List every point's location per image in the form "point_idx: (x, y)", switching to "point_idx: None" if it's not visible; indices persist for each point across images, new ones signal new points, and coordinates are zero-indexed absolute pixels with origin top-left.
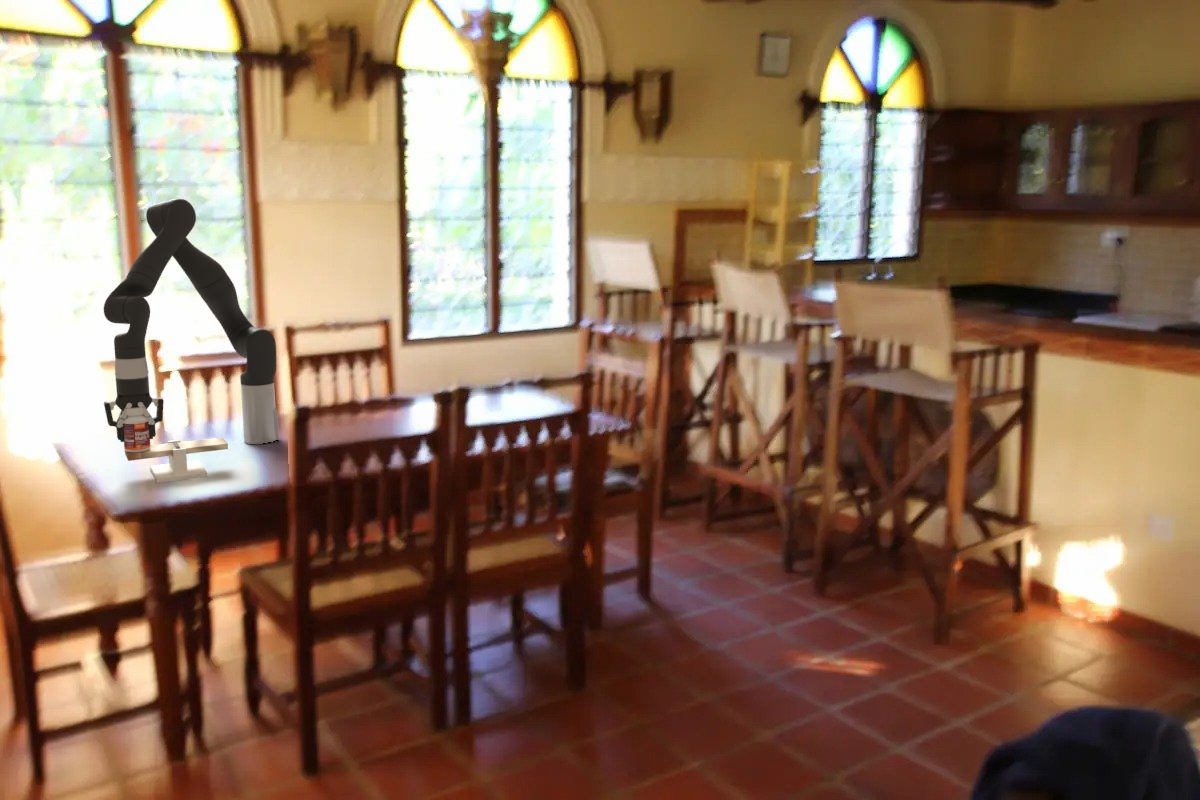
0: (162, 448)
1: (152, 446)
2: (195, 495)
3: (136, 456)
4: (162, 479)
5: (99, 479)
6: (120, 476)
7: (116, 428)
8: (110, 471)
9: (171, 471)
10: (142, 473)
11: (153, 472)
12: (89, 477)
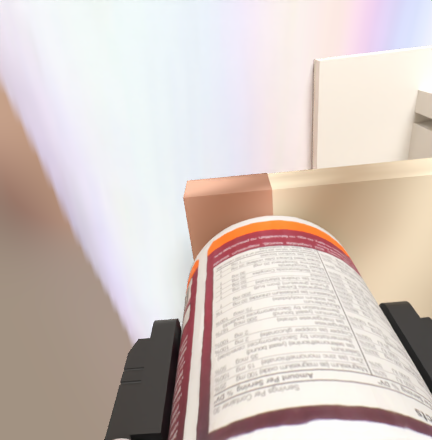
0: (416, 293)
1: (373, 220)
2: None
3: None
4: None
5: (79, 167)
6: (167, 148)
7: (108, 434)
8: (103, 16)
9: None
10: (267, 130)
11: None
12: (21, 112)
